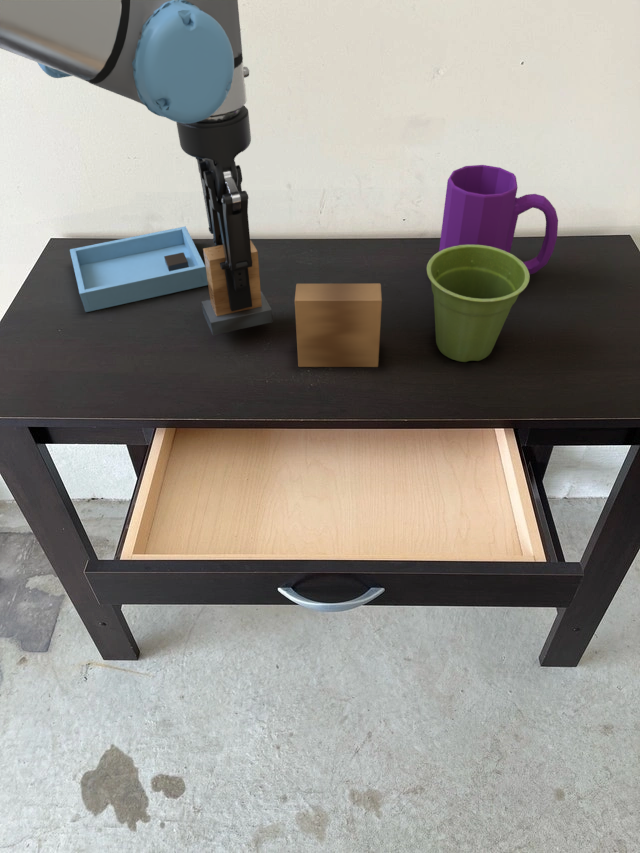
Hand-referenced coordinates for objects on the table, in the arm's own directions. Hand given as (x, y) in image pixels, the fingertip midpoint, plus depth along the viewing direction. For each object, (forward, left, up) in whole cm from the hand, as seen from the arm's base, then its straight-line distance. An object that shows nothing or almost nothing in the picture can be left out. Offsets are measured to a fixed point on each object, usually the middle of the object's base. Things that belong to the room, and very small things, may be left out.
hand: (237, 299), depth 84 cm
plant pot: (+26, -14, -5) cm, 30 cm away
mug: (+37, -2, -5) cm, 37 cm away
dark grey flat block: (-5, +19, -5) cm, 20 cm away
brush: (0, 0, -3) cm, 3 cm away
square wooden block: (+10, -10, -5) cm, 15 cm away
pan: (-10, +19, -5) cm, 22 cm away
